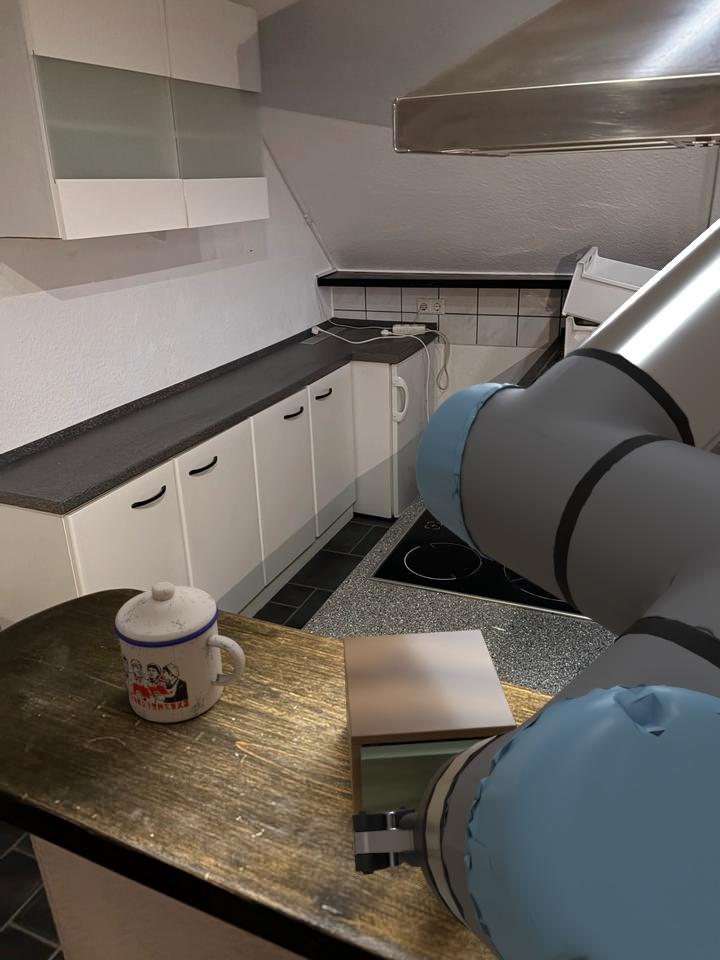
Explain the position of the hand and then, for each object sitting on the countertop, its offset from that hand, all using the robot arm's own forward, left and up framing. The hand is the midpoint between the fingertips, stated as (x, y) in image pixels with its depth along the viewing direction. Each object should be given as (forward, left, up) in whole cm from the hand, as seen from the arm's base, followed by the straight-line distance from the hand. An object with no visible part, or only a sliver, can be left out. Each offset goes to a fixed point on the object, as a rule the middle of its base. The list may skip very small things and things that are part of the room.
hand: (442, 824), depth 51 cm
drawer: (+1, -7, -4) cm, 8 cm away
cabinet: (+1, -10, -4) cm, 11 cm away
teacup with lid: (+22, -19, -5) cm, 29 cm away
